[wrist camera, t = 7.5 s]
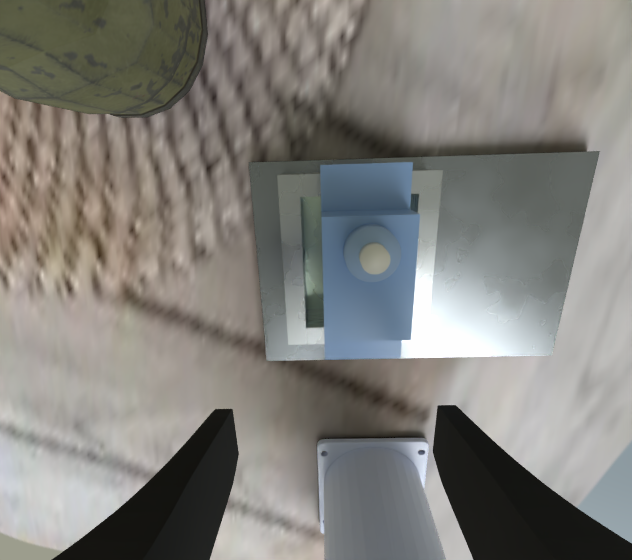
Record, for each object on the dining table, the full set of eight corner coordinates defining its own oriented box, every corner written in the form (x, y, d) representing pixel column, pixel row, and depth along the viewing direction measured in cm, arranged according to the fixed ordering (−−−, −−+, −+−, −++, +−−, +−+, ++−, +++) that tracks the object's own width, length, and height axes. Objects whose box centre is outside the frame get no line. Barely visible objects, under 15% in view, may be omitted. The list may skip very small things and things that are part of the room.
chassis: (543, 348, 22) (580, 379, 19) (268, 354, 22) (260, 385, 19) (587, 151, 18) (644, 149, 15) (251, 162, 18) (237, 162, 15)
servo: (383, 316, 20) (417, 398, 13) (323, 318, 20) (326, 399, 13) (389, 162, 17) (437, 161, 10) (320, 164, 17) (320, 165, 10)
